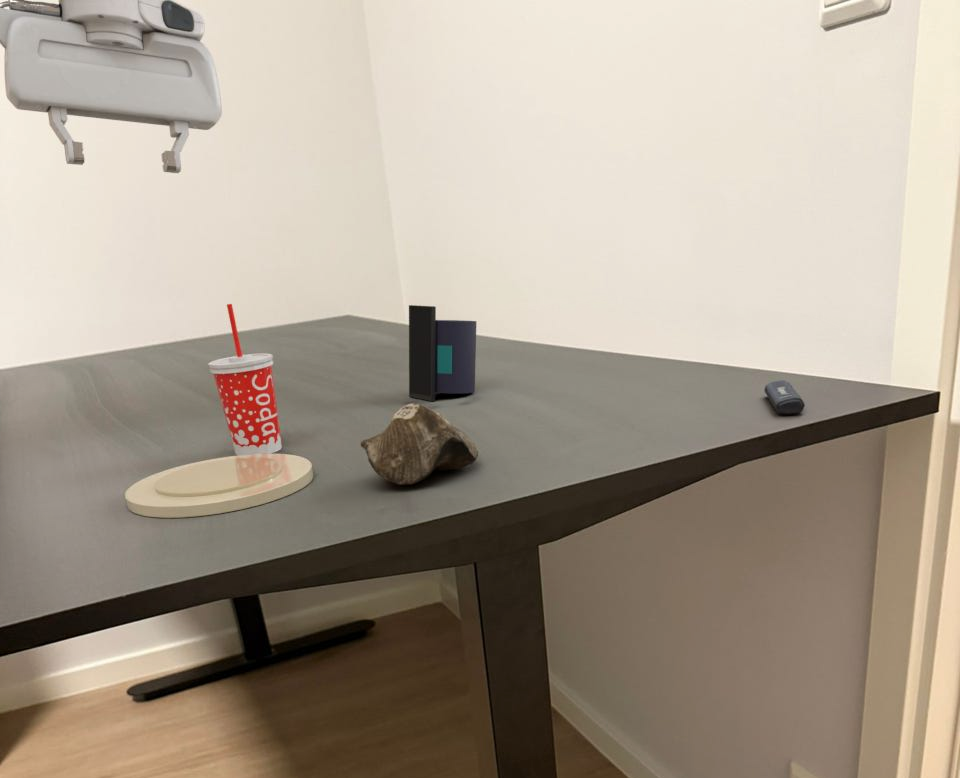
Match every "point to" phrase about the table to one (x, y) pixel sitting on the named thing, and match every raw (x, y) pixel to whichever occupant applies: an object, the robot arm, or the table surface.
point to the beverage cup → (248, 398)
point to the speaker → (440, 354)
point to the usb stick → (784, 397)
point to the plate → (219, 485)
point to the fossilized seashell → (418, 446)
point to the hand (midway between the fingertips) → (125, 167)
